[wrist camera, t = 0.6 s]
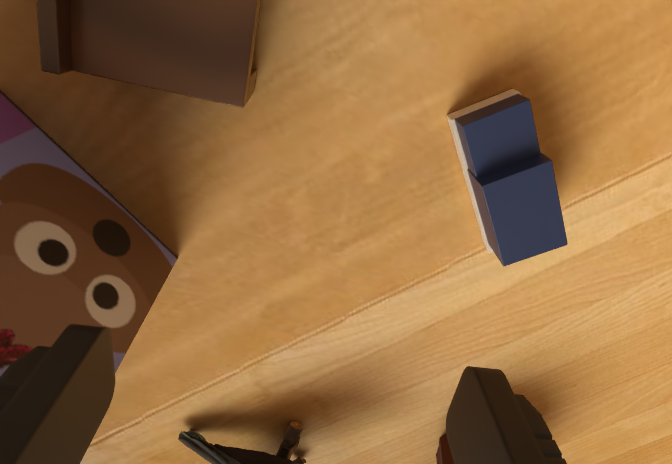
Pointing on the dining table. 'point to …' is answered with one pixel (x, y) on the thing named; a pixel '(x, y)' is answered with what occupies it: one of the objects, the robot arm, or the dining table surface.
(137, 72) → the shelf
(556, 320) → the dining table surface
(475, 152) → the blue stepped block
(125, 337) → the cereal box
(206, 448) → the bird figurine
